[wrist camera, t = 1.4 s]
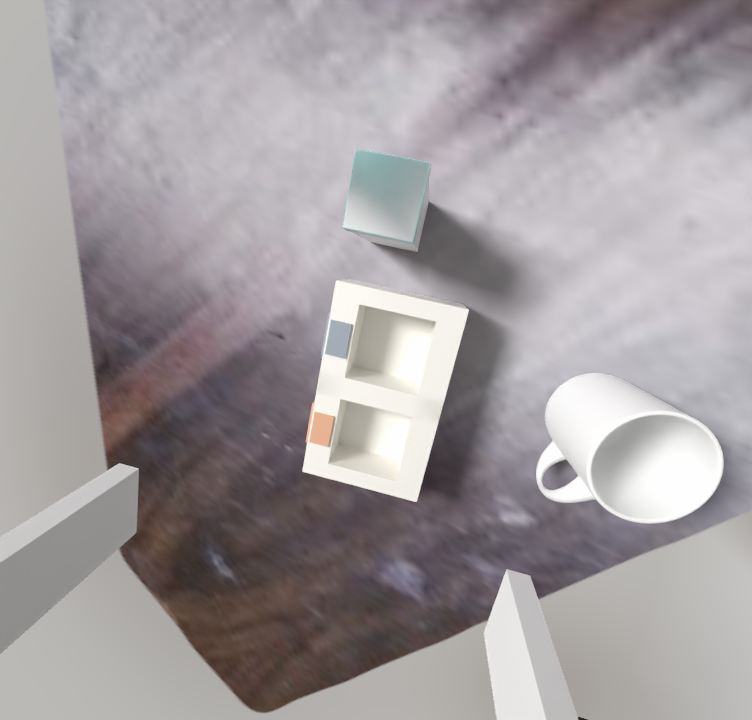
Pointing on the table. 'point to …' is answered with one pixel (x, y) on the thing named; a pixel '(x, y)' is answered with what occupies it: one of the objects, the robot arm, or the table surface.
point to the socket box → (381, 386)
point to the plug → (387, 199)
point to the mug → (629, 451)
